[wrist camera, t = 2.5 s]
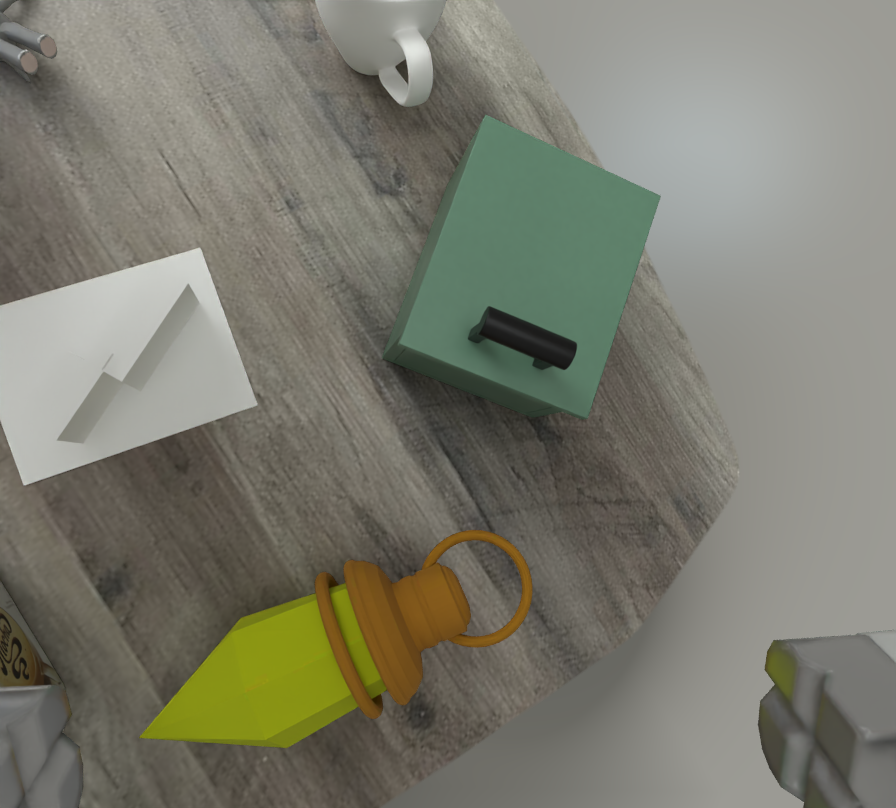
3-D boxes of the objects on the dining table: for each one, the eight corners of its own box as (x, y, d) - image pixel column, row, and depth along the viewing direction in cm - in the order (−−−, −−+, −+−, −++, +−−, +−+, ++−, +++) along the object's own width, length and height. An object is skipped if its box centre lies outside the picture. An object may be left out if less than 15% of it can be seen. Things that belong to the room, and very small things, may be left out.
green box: (532, 418, 52) (586, 407, 43) (381, 358, 50) (401, 333, 41) (590, 247, 54) (654, 200, 45) (447, 183, 52) (481, 120, 43)
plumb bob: (190, 795, 46) (548, 628, 49) (130, 844, 37) (570, 637, 40) (146, 657, 48) (491, 503, 51) (78, 672, 39) (500, 485, 42)
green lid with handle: (582, 419, 43) (621, 413, 38) (397, 346, 41) (411, 328, 36) (654, 200, 45) (700, 166, 40) (481, 120, 43) (507, 74, 38)
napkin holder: (199, 244, 49) (187, 215, 43) (260, 404, 49) (255, 396, 43) (-41, 317, 45) (-87, 296, 40) (25, 489, 45) (-13, 492, 40)
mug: (294, 1, 51) (295, -128, 40) (406, -18, 53) (436, -146, 42) (345, 163, 51) (360, 79, 40) (456, 138, 53) (499, 52, 42)
